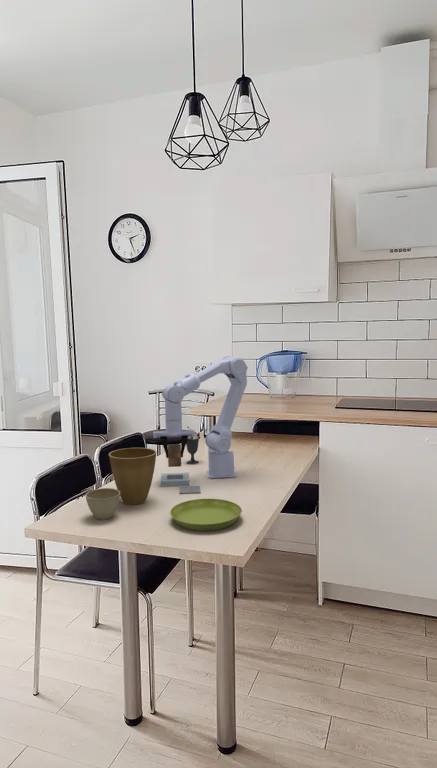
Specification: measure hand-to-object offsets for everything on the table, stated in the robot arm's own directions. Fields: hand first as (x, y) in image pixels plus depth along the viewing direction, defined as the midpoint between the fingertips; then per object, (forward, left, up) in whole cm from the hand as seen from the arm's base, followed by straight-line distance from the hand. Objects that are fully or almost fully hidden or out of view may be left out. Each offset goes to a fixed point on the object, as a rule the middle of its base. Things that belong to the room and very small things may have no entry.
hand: (174, 457), depth 198 cm
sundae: (-7, -25, -9) cm, 28 cm away
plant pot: (+13, +20, -9) cm, 25 cm away
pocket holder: (0, 0, -9) cm, 9 cm away
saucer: (-9, +39, -10) cm, 41 cm away
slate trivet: (-5, +11, -9) cm, 15 cm away
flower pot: (+21, +33, -9) cm, 40 cm away
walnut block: (0, 0, -3) cm, 3 cm away
